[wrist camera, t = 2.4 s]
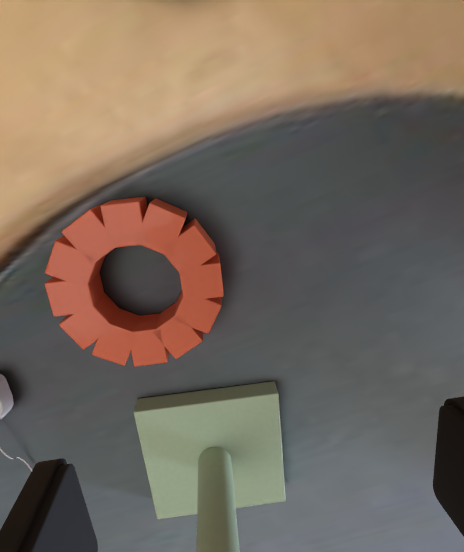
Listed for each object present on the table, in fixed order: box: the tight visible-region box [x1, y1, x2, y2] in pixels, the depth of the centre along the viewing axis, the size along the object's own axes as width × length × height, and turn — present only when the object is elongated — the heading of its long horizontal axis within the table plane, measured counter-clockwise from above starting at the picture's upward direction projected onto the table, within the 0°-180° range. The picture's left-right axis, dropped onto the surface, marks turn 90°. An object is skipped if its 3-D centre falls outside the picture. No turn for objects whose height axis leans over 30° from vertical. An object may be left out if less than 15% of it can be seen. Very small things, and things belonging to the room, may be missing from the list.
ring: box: [45, 197, 224, 366], centre depth 22 cm, size 10×10×2 cm
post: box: [134, 381, 286, 552], centre depth 22 cm, size 10×10×12 cm
